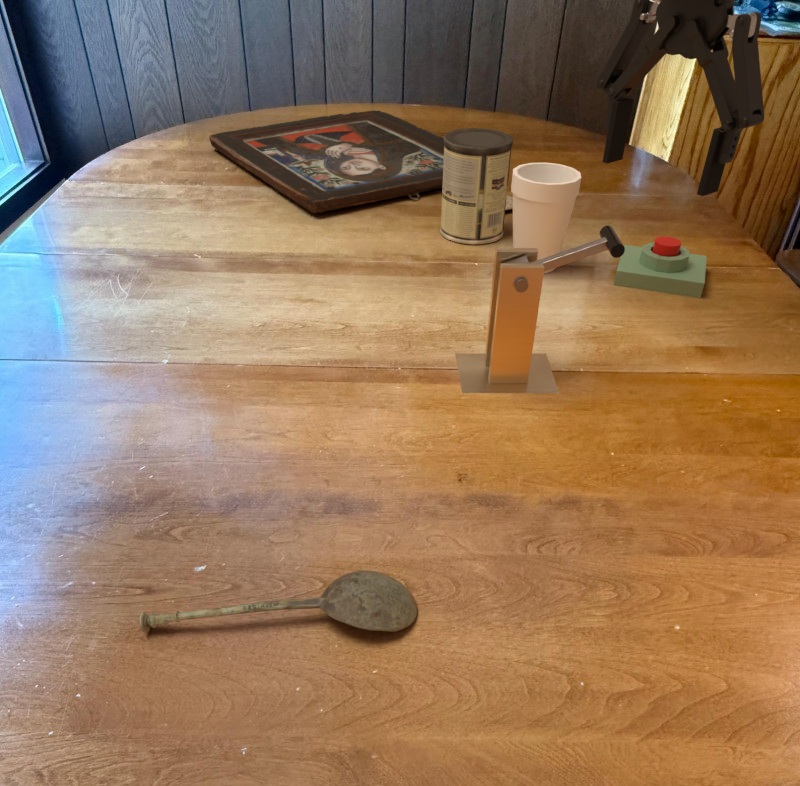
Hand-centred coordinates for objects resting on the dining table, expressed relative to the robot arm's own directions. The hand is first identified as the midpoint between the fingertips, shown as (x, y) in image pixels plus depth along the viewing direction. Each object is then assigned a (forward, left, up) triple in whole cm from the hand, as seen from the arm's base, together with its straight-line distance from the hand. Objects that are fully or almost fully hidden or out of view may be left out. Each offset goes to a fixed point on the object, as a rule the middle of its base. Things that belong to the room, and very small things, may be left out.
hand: (657, 176), depth 89 cm
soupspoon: (+21, +61, -19) cm, 67 cm away
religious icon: (+57, -49, -19) cm, 77 cm away
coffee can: (+27, -24, -19) cm, 41 cm away
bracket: (+12, +19, -19) cm, 29 cm away
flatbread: (+26, -37, -19) cm, 49 cm away
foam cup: (+15, -15, -19) cm, 28 cm away
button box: (-3, -17, -19) cm, 26 cm away
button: (-3, -17, -15) cm, 23 cm away
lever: (+7, +17, -5) cm, 19 cm away
